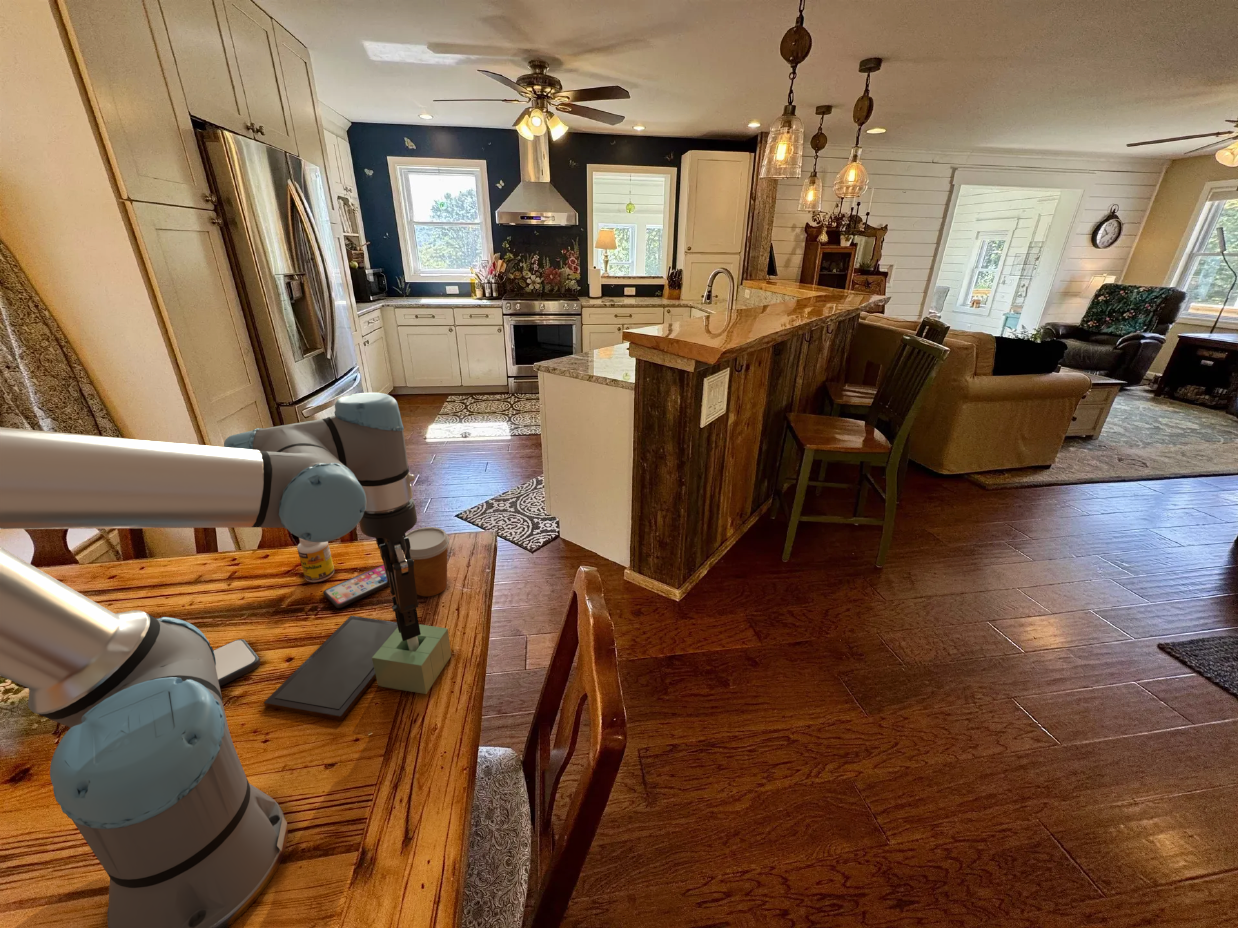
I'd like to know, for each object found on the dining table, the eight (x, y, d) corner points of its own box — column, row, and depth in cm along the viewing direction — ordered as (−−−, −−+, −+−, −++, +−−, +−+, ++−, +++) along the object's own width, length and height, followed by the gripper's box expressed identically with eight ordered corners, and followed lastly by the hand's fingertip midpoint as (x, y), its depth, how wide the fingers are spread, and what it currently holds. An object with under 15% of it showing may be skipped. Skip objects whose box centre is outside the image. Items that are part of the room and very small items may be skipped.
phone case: (244, 642, 87) (121, 699, 75) (242, 635, 87) (118, 692, 75) (263, 667, 82) (136, 732, 71) (261, 659, 82) (132, 723, 70)
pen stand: (426, 694, 78) (421, 665, 75) (378, 686, 79) (371, 657, 77) (451, 655, 85) (447, 628, 83) (407, 648, 87) (402, 621, 84)
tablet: (341, 721, 73) (340, 715, 73) (265, 707, 75) (263, 701, 74) (415, 628, 91) (414, 624, 91) (351, 619, 93) (350, 614, 93)
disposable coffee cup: (464, 578, 106) (458, 530, 101) (436, 606, 97) (428, 555, 92) (426, 569, 108) (419, 522, 103) (396, 595, 100) (386, 545, 95)
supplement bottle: (299, 583, 103) (288, 541, 99) (314, 567, 108) (303, 527, 104) (326, 583, 103) (316, 541, 99) (340, 568, 108) (330, 527, 104)
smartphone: (321, 590, 99) (393, 559, 110) (322, 594, 100) (394, 562, 110) (337, 606, 95) (410, 572, 105) (338, 610, 95) (411, 575, 106)
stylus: (420, 670, 81) (404, 597, 75) (411, 669, 82) (394, 596, 76) (425, 663, 83) (410, 591, 77) (416, 661, 83) (400, 589, 77)
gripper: (427, 516, 66) (447, 650, 76) (400, 478, 77) (421, 599, 87) (366, 532, 62) (395, 671, 72) (347, 489, 73) (374, 615, 83)
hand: (409, 632), depth 79 cm, fingers closed on stylus, 1 cm apart
